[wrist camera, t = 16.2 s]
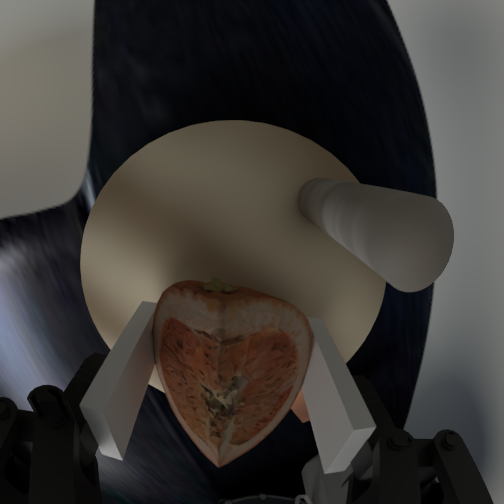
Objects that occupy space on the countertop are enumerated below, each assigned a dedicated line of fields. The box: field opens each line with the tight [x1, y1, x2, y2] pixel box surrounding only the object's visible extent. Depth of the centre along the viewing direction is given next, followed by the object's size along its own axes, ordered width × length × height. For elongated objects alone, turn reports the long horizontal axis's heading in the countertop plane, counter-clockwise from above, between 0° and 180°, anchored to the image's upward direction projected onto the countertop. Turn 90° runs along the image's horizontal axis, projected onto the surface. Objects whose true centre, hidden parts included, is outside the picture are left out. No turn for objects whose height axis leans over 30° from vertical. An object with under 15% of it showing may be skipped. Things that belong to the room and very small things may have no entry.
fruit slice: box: [152, 276, 312, 468], centre depth 10 cm, size 8×7×5 cm
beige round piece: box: [80, 120, 454, 423], centre depth 11 cm, size 16×19×10 cm
